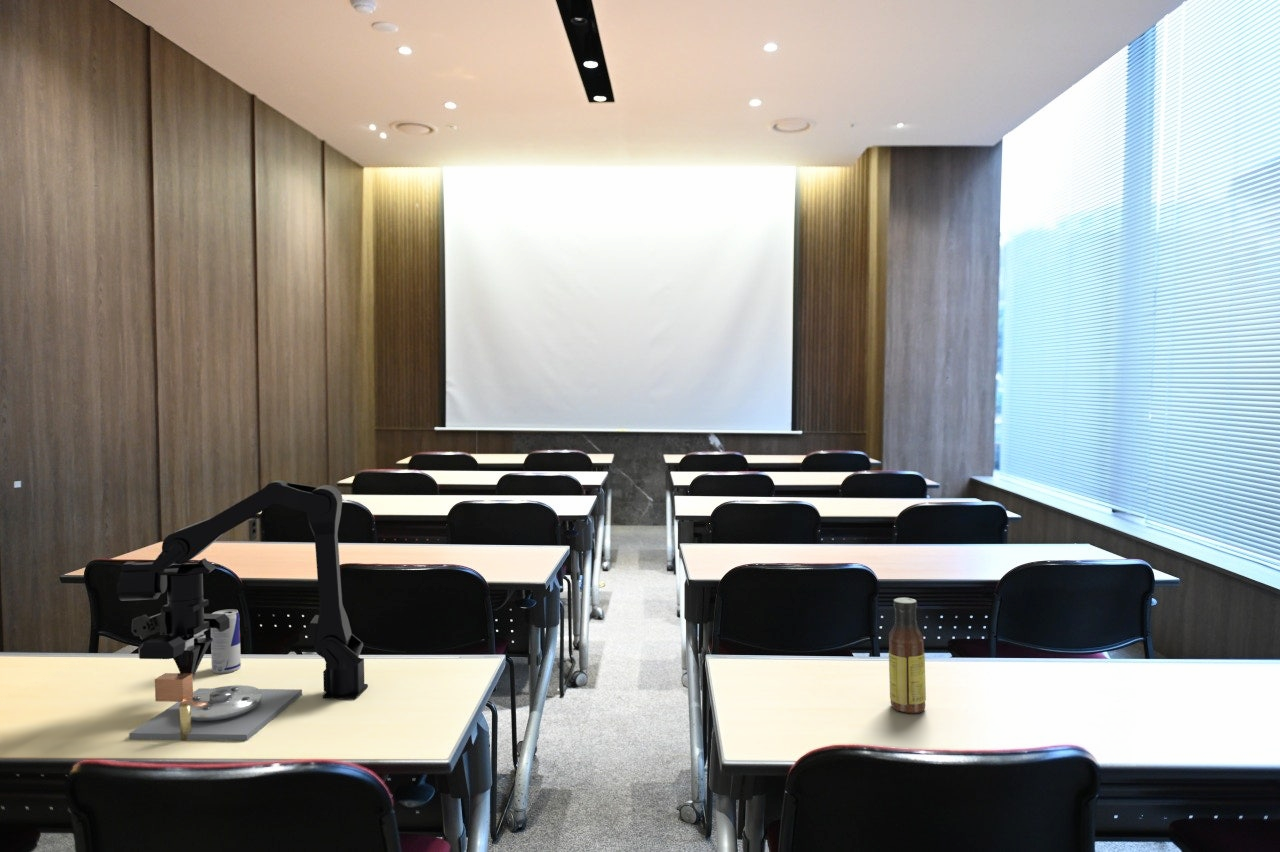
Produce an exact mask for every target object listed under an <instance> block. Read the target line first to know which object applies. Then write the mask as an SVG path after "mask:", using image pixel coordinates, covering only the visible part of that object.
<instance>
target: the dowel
mask: <svg viewBox="0 0 1280 852" xmlns="http://www.w3.org/2000/svg"><path fill="white" fill-rule="evenodd" d="M190 732H191V705H190V704H184V705H181V706H180V734H181V740H180V741H188V740H187V734H188V733H190Z"/></svg>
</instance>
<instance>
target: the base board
mask: <svg viewBox="0 0 1280 852" xmlns="http://www.w3.org/2000/svg"><path fill="white" fill-rule="evenodd" d="M208 689H213V688H210V687H209V688H206V687H205V688H202V687H200V688H197V689H195V691H194V690H193V694H196V693H198V692H201V691H205V690H208ZM258 689H259V690H260V691H261V703H260V704H259V705H258V706H257V707H255V708H254V709H252V710H250V711H248V712H246V713H243V714H240V715H237V716H234V717H230V718H225V719H220V720H212V721H192V720H191V732H190V733H188V734H187V740H186V741H236V742H237V741H243V742H246V741H249V740H250V739H251V738H252V737H253V736H254V735H256V734H257V733H258V732H259V731H261V730H262V728H264V727H265V726H266V725H268V724H269V723H270V722H272V720H274V719H275V718H277V716H278V715H280V714H281V713H282V712H283V711H285V710H286V709H287V708H288V707H289V706H290V705H292V704H293V703H294V702H295V701H296V700H297V699H299V698H300V697H301V696H302V695H303V689H293V688H292V689H290V688H289V689H280V688H278V689H275V688H273V689H272V688H258ZM180 703H181V702H175V703H174V704H172V705H170V706H169V707H168V708H167V709H164V710H162V711H161V712H160V713H158V714H157V715H155V716H154V717H152V718H151V719H149V720H148V721H146V722H144V723H143V724H141V725H140V726H138V727H137V728H135V729H133V730H131V731H130V732H129V733H128V737H129V740H167V741H168V740H173V741H174V740H175V741H177V740H179V741H182V740H181V734H180V714H179V704H180Z"/></svg>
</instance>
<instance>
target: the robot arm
mask: <svg viewBox="0 0 1280 852" xmlns="http://www.w3.org/2000/svg"><path fill="white" fill-rule="evenodd" d="M276 504H277V505H280V506H284V507H287V508H290V509H293V510H297V511H301V512H305V513H306V517H307V522H308V524H309V527H310V529H311V532H312V534H313V537H314V546H315V548H314V549H315V558H316V559H315V561H316V563H315V564H316V572H317V573H316V575H317V586H318V587H317V588H318V604H319V613H318V614H315V615H314V617H313V618H312V619H311V621H310V623H309V630H310V633H311V642H310V646H314V650H315V653H316V654H317V655H318V656H320V657H321V658H322V659H324V661H325V669H324V670H323V672H322V673H323V674H322V675H323V677H322V678H323V692H324V694H322V699H329V700H330V699H333V700H335V699H337V700H340V699H343V700H352V699H353V700H355V699H357V698H358V697H359V696H360V695H361V694H362V693H363V692H364V691H365V690H366V689H368V687H369V684H368V683H365V658H363V657H362V658H361V657H359V656H360V655H361V652H362V649H363V648H364V647H363V646H364V643H363V641H361V640H360V639H359V638H358V637H356V636H355V634H353V633H352V628H351V625H350V621H349V618H348V615H347V612H346V610H345V608H344V604H343V593H342V581H341V580H342V579H341V578H342V577H341V567H340V566H341V565H340V552H339V538H338V537H339V536H338V533H339V528H340V527H339V525H340V521H341V515H342V507H343V496H342V492H341V491H340V490H339V489H338V488H337V487H335V486H333V485H330V484H325V485H320V486H312V485H307V484H301V483H292V482H290V481H289V482H287V481H285V480H282V479H276V480H273V481H271V482H270V483H267V484H266V485H265V486H264V487H263V488H262V489H259V490H258V491H256V492H255V493H253V494H251V495H249V496H247V497H246V498H244V499H242V500H240V501H239V502H236V503H235V504H233V505H231V506H230V507H229V508H227V509H225V510H223V511H221V512H219V513H217V514H216V515H215V516H213V517H210V518H207V519H205V520H201V521H198V522H196V523H193V524H190V525H188V526H184V527H183V528H181V529H178V530H177V531H174V532H171V533H170V534H169V535H167V536H165V537H164V539H163V540H162V545H161V551H160V553H159V554H158V556H157V557H156V558H155V559H154V560H153V561H149V562H148V561H147V562H137V561H127V562H125V563H123V564H122V565H121V572H120V574H119V577H118V582H117V584H116V594H117V598H118V599H119V600H120V601H122V602H123V601H124V602H125V601H129V602H130V601H143V600H144V601H145V600H146V601H147V600H158V599H159V597H160V596H161V594H165V592H166V591H167V604H164V605H162V607H161V608H160V613H157V614H155V615H152V616H148V615H147V614H143V615H141V616H137V617H135V618H132V621H131V634H133V636H136V637H139V638H140V640H144V639H146V638H148V637H149V636H151V635H155V634H157V633H158V634H159V635H160V636H159V635H155V636H153V637H152V638H150V639H148V640H145V641H143V642H142V643H141V644H140V645H139V646H138V659H140V660H170V659H171V660H172V659H173V661H174V662H175V665H176V666H177V669H178V671H179V673H192V675H193V678H194V677H195V675H196V673H197V671H198V668H199V666H200V665H201V662H202V660H203V657H204V655H205V654H206V652H207V650H208V648H209V646H210V645H211V642H212V641H213V638H211V637H206V634H205V632H206V631H208V630H211V628H217V630H218V631H219V632H223V631H225V630H227V629H228V628H230V622H229V618H228V617H227V616H226V615H225V614H212V613H205V612H204V611H205V610H204V608H205V607H208V606H209V604H210V602H209V601H210V600H209V599H205V598H204V578H203V577H204V576H203V575H204V574H209V573H211V572H212V571H214V570H215V569H216V566H215V564H212V563H211V562H209V561H208V560H207V558H205V557H203V558H202V559H200V560H199V561H198V562H193V563H187V562H189V561H191V560H193V559H194V558H196V557H197V556H198V555H200V554H201V553H203V552H204V551H205V550H207V548H209V547H210V546H211V545H213V544H214V543H215V541H217V540H218V539H219V538H221V536H222V535H224V534H226V533H227V532H228V531H230V530H233V529H234V528H235V527H238V526H240V525H241V524H242V523H244V522H246V521H249V519H251V518H253V517H255V516H257V515H258V514H260V513H261V512H263V511H265V510H267V509H269V508H270V507H273V506H274V505H276ZM173 564H178V565H179V567H178V568H169V567H171V566H172V565H173ZM167 635H170V636H167Z"/></svg>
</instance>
